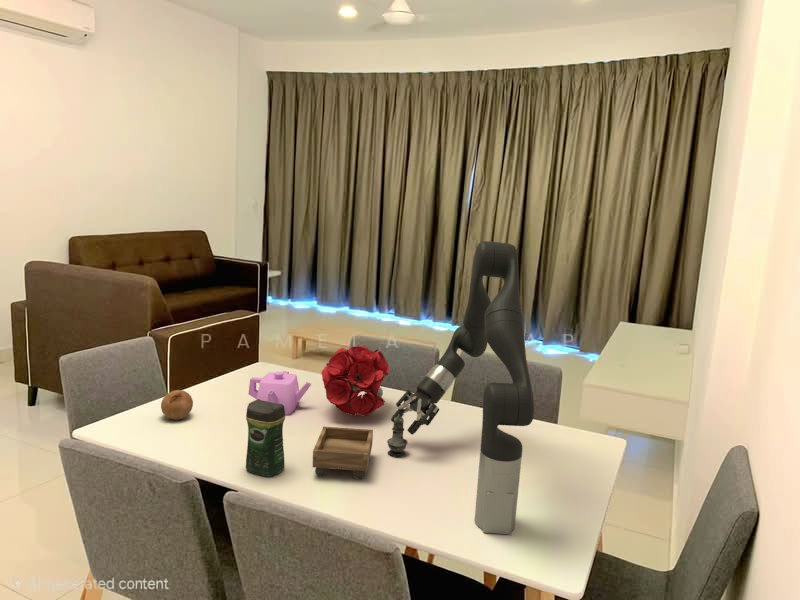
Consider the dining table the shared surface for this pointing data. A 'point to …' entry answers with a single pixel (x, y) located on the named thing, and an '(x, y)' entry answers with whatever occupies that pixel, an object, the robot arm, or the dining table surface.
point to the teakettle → (278, 389)
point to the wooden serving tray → (343, 450)
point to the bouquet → (355, 380)
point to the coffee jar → (265, 437)
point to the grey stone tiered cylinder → (397, 439)
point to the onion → (177, 404)
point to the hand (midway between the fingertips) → (401, 427)
